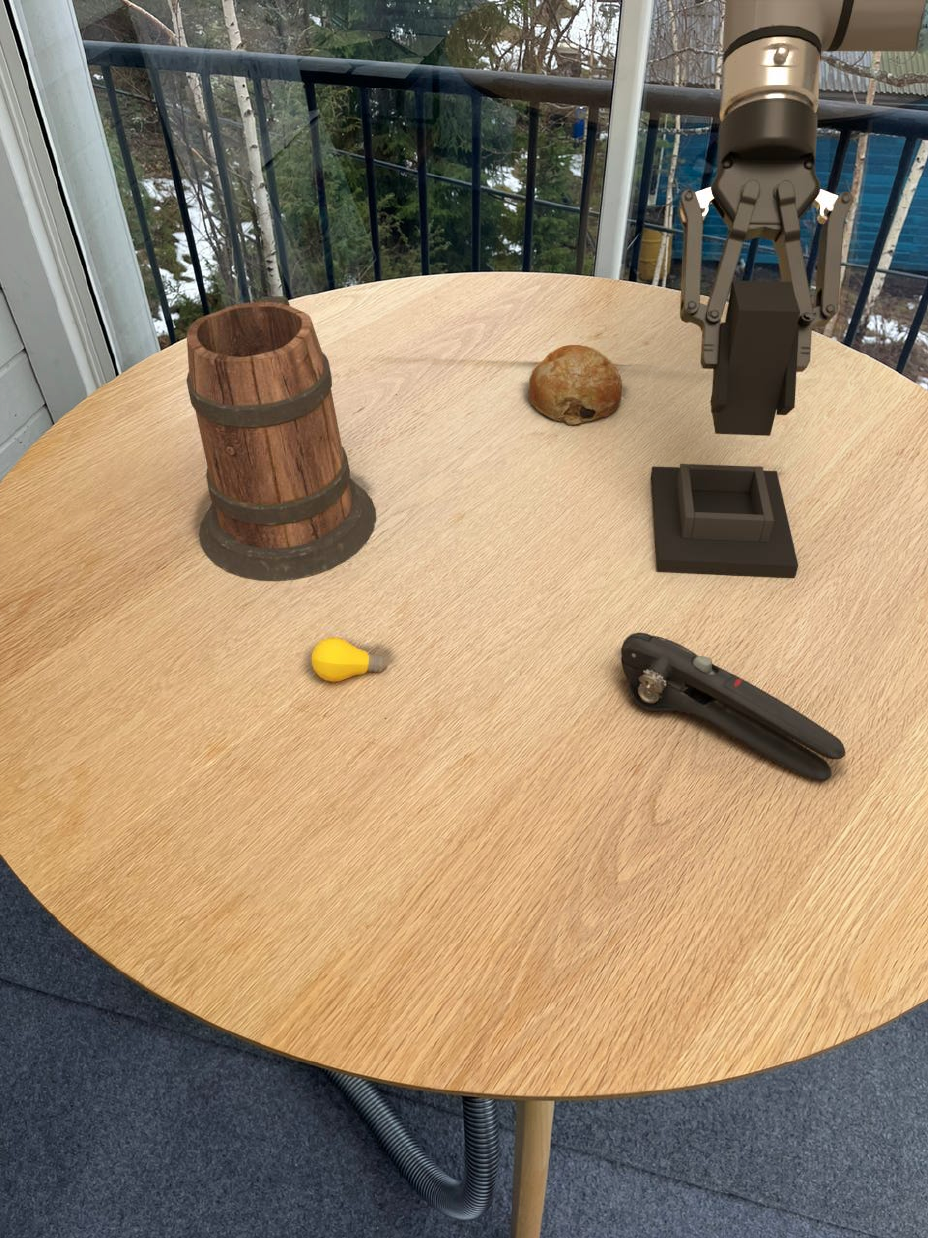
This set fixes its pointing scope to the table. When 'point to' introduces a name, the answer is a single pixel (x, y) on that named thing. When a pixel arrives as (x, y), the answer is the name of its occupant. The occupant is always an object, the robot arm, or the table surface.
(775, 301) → the tall dark pillar
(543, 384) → the bread roll
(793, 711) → the can opener
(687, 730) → the table surface
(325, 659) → the light bulb
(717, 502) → the base pad
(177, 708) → the table surface
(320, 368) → the tankard
